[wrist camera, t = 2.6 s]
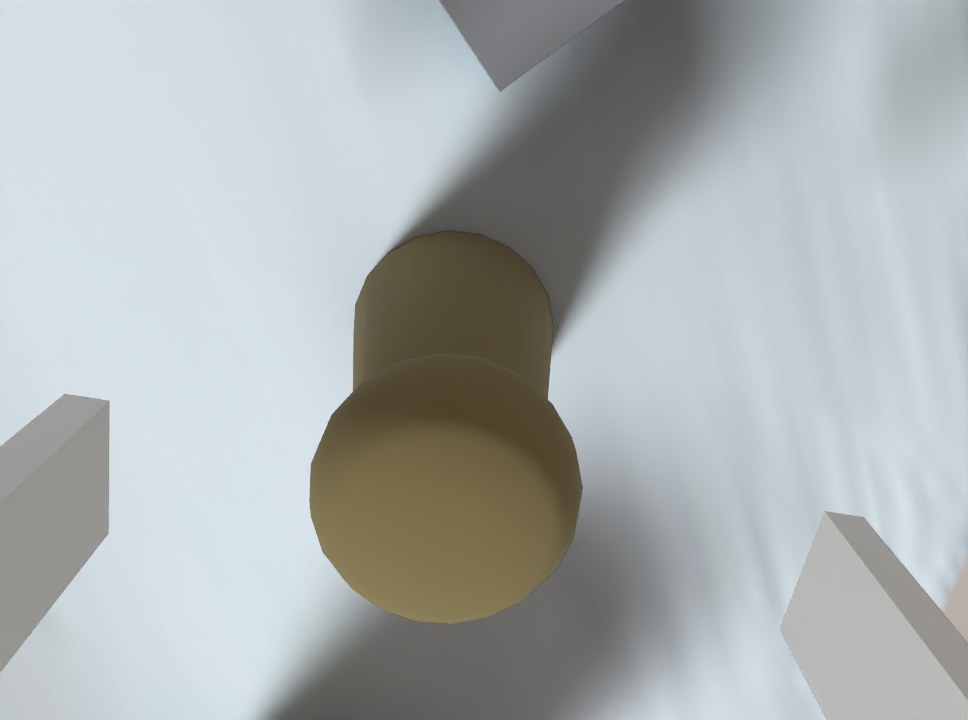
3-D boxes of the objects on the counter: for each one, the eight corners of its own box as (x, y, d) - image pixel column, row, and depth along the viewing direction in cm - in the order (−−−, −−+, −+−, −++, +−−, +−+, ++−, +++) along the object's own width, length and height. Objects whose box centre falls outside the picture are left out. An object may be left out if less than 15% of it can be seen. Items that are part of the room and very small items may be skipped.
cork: (440, 454, 25) (423, 727, 15) (311, 315, 24) (193, 519, 13) (592, 343, 24) (686, 560, 14) (468, 187, 22) (470, 305, 12)
